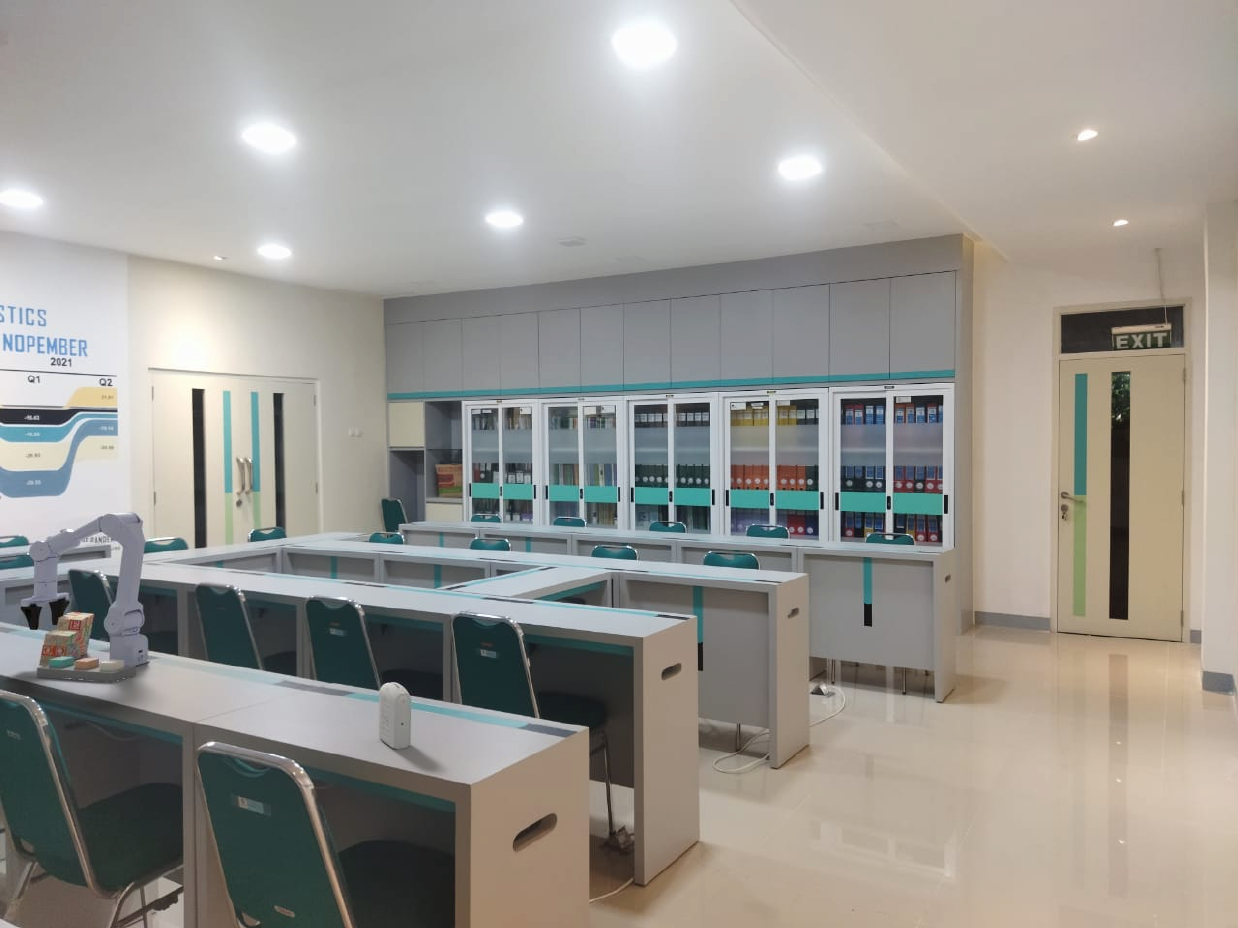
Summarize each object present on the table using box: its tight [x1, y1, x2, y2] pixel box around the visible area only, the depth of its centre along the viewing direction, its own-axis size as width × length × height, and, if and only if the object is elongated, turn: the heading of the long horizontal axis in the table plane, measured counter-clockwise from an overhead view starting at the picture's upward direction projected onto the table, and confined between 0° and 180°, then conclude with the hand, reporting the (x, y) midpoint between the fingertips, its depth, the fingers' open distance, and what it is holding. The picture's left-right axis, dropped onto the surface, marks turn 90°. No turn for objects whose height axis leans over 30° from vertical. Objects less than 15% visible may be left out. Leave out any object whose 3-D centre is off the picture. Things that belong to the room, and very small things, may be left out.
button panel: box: [36, 661, 137, 683], centre depth 231 cm, size 24×8×2 cm, turn 79°
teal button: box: [49, 656, 75, 668], centre depth 232 cm, size 4×4×4 cm
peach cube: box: [74, 657, 100, 669], centre depth 231 cm, size 4×4×4 cm
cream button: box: [99, 659, 124, 671], centre depth 229 cm, size 4×4×4 cm
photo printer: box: [378, 682, 412, 750], centre depth 178 cm, size 10×4×12 cm, turn 35°
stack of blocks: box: [38, 611, 95, 667], centre depth 249 cm, size 21×6×12 cm, turn 17°
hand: (45, 627), depth 248 cm, fingers open, 7 cm apart
